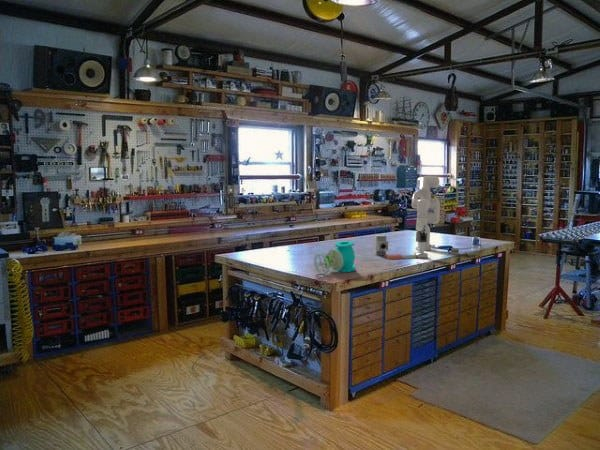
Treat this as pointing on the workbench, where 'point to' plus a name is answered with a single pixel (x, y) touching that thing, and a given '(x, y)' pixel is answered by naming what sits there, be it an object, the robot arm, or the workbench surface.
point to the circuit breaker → (380, 245)
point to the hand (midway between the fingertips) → (421, 239)
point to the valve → (338, 258)
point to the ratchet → (416, 255)
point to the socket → (418, 237)
